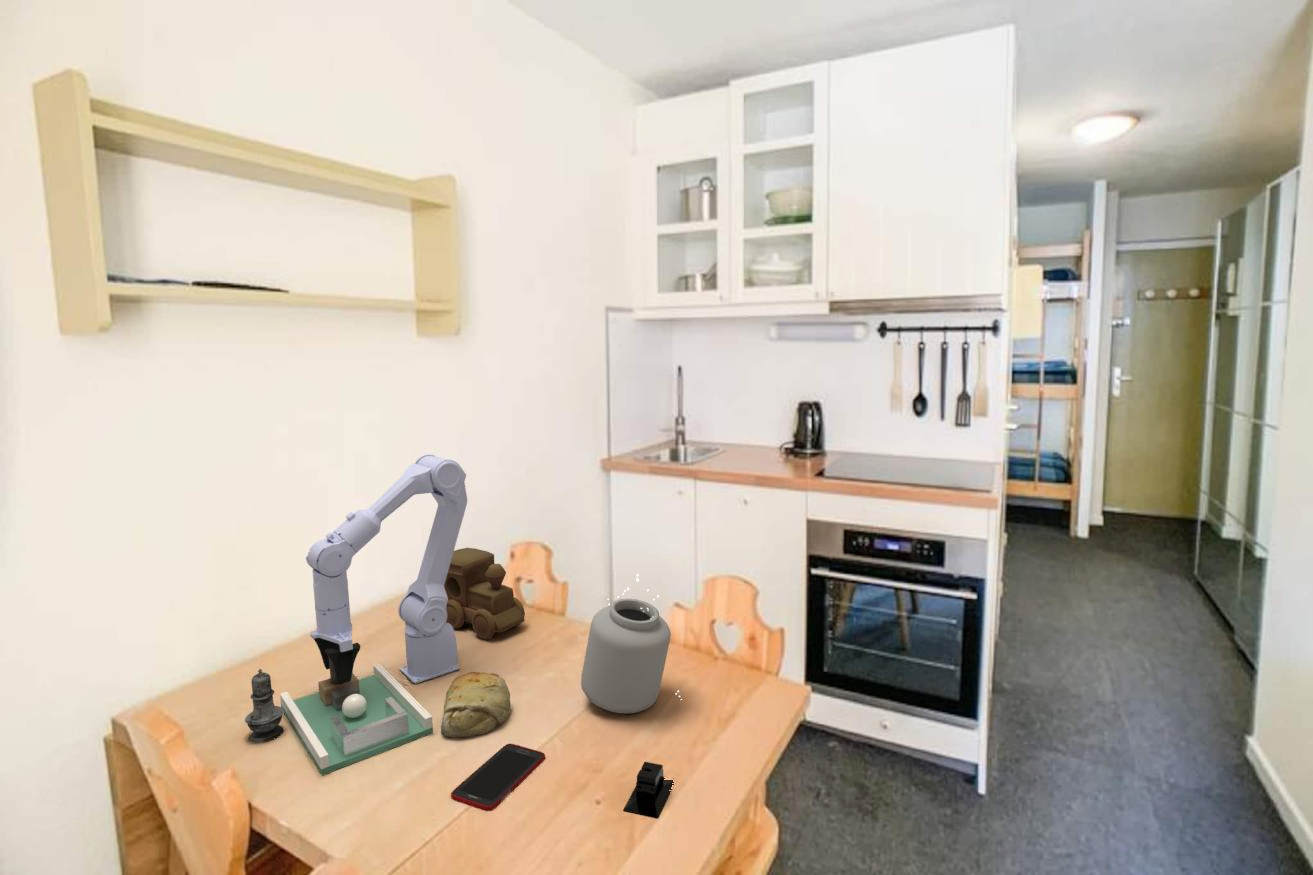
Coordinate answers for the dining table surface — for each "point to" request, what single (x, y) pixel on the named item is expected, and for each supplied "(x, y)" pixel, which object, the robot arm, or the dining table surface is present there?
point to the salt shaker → (263, 711)
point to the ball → (354, 705)
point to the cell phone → (497, 777)
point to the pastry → (475, 704)
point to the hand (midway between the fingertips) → (338, 674)
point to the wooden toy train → (480, 594)
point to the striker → (337, 689)
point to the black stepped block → (649, 792)
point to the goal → (370, 730)
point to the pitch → (353, 720)
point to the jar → (625, 656)
